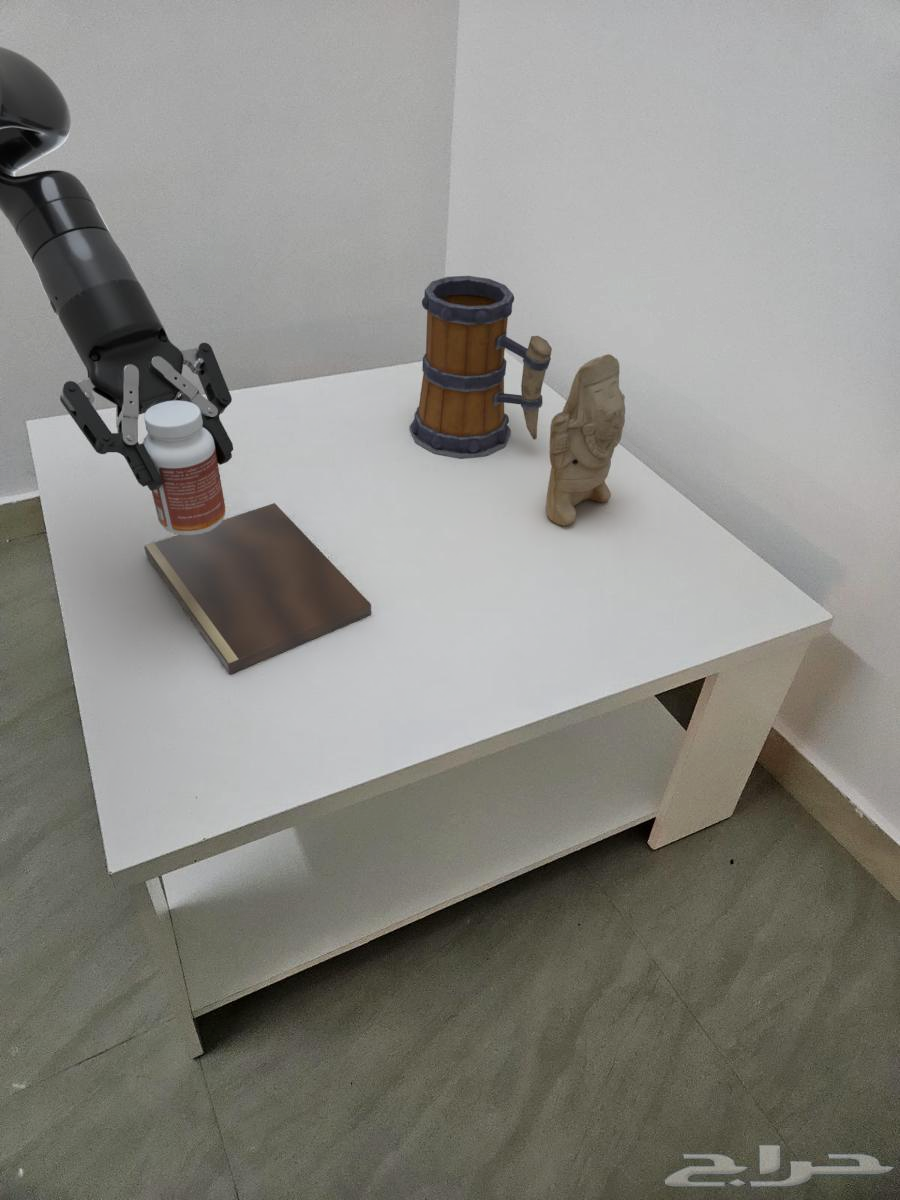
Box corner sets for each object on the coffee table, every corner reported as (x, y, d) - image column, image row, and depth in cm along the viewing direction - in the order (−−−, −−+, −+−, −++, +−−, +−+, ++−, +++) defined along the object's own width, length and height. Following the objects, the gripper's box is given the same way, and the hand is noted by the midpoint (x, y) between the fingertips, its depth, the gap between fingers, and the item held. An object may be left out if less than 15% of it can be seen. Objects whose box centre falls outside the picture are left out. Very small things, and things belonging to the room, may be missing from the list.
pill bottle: (239, 510, 78) (224, 405, 71) (200, 545, 74) (179, 437, 67) (186, 493, 80) (166, 389, 73) (144, 526, 76) (118, 419, 68)
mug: (558, 435, 117) (579, 295, 104) (513, 481, 107) (530, 333, 94) (441, 398, 123) (448, 263, 110) (389, 438, 114) (389, 295, 101)
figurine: (561, 541, 97) (588, 386, 84) (519, 513, 102) (538, 360, 88) (630, 504, 104) (665, 356, 91) (588, 479, 108) (615, 333, 95)
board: (229, 675, 79) (227, 663, 77) (146, 556, 92) (143, 544, 91) (371, 614, 86) (371, 603, 85) (275, 512, 99) (274, 501, 98)
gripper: (19, 297, 64) (125, 490, 65) (185, 260, 71) (275, 433, 73) (11, 339, 70) (108, 515, 72) (164, 301, 78) (248, 460, 79)
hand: (192, 473), depth 72 cm, fingers closed on pill bottle, 6 cm apart
